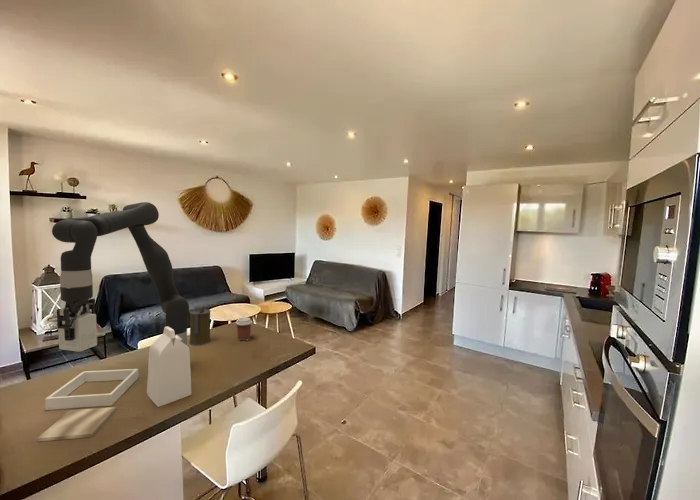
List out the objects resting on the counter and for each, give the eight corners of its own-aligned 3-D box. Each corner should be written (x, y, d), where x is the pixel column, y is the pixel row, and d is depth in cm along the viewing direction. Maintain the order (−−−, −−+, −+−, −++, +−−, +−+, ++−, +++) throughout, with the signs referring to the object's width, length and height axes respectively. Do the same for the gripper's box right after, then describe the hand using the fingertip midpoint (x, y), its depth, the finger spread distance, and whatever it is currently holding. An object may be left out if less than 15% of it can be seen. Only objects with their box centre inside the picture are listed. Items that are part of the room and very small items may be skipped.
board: (116, 409, 106) (116, 406, 106) (91, 436, 92) (91, 433, 92) (69, 413, 103) (69, 410, 103) (36, 441, 89) (36, 438, 89)
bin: (138, 377, 128) (138, 368, 127) (111, 405, 108) (111, 394, 108) (83, 380, 124) (83, 371, 123) (45, 410, 104) (45, 398, 104)
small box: (97, 345, 98) (97, 313, 97) (79, 352, 92) (78, 318, 92) (77, 342, 100) (76, 311, 99) (58, 349, 94) (57, 316, 93)
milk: (146, 394, 116) (146, 328, 114) (179, 383, 125) (179, 321, 123) (158, 407, 108) (157, 336, 107) (191, 394, 117) (191, 329, 115)
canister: (194, 338, 174) (194, 304, 172) (212, 338, 175) (213, 304, 173) (185, 345, 163) (186, 309, 161) (206, 345, 164) (206, 309, 162)
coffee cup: (242, 343, 169) (242, 322, 168) (231, 339, 174) (232, 319, 173) (255, 338, 177) (255, 318, 176) (245, 335, 182) (245, 315, 181)
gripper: (78, 279, 101) (79, 328, 102) (44, 288, 87) (46, 344, 88) (104, 280, 102) (105, 327, 103) (75, 288, 88) (76, 344, 89)
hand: (78, 335), depth 96 cm, fingers closed on small box, 7 cm apart
